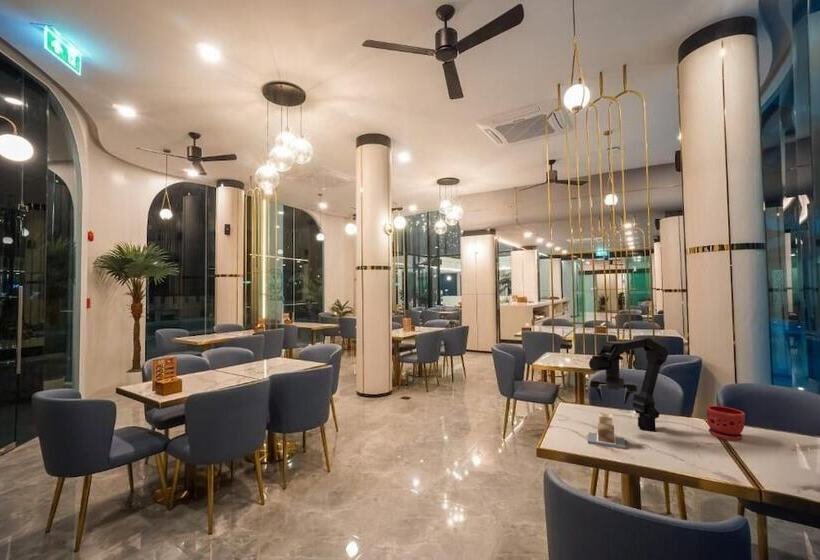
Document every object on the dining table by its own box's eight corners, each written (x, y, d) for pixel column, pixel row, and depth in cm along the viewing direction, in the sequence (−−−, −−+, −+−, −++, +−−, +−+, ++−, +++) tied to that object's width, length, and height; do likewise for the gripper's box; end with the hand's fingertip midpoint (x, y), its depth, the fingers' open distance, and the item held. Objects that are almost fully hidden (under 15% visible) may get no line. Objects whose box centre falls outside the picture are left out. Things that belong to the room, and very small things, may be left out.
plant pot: (747, 445, 161) (746, 416, 161) (707, 437, 169) (706, 410, 169) (744, 435, 171) (743, 408, 171) (707, 429, 179) (706, 403, 179)
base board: (624, 439, 167) (624, 436, 167) (625, 449, 158) (625, 446, 158) (588, 434, 174) (588, 431, 174) (587, 443, 164) (587, 440, 164)
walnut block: (614, 436, 168) (613, 425, 168) (614, 443, 161) (614, 431, 161) (598, 434, 170) (598, 423, 171) (598, 440, 163) (598, 429, 163)
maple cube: (612, 426, 167) (612, 414, 167) (612, 429, 162) (612, 417, 162) (599, 424, 169) (599, 412, 169) (599, 428, 165) (599, 416, 165)
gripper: (589, 371, 173) (589, 406, 173) (637, 375, 165) (638, 411, 165) (590, 366, 183) (590, 399, 183) (635, 370, 175) (636, 404, 174)
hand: (613, 403), depth 176 cm, fingers open, 9 cm apart
